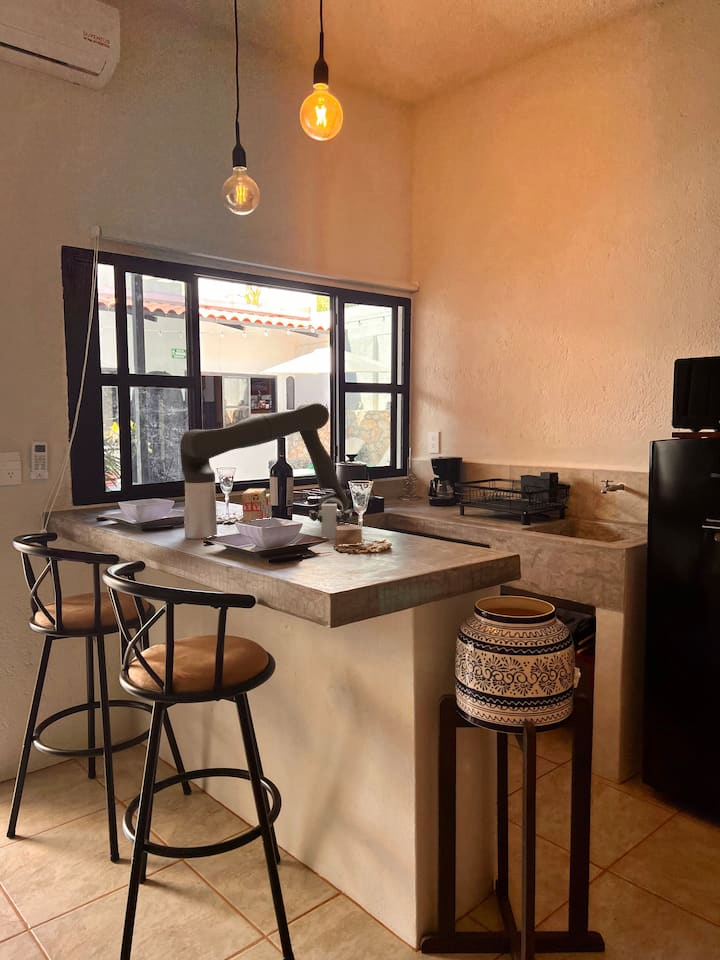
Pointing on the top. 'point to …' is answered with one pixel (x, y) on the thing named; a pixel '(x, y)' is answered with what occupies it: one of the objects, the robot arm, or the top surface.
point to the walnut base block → (348, 534)
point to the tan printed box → (256, 504)
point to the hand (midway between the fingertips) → (329, 518)
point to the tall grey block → (329, 520)
